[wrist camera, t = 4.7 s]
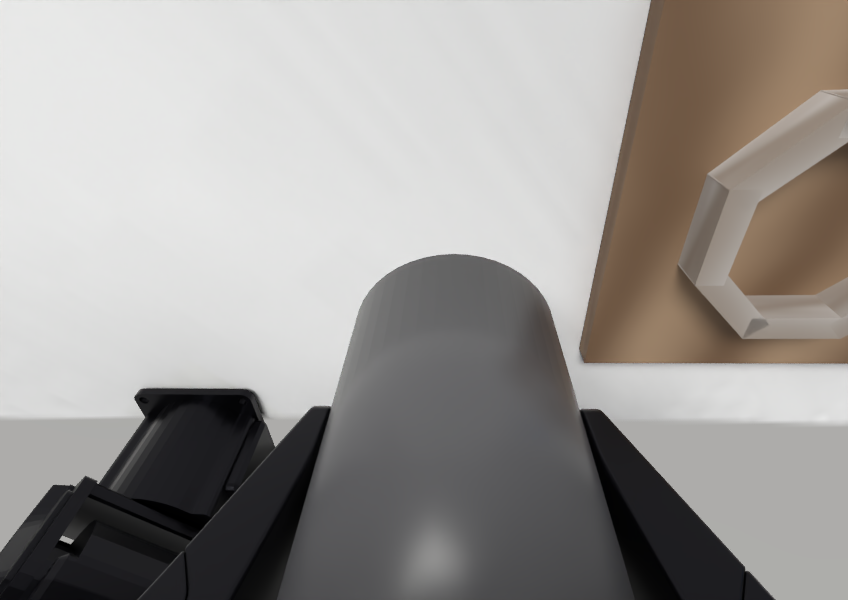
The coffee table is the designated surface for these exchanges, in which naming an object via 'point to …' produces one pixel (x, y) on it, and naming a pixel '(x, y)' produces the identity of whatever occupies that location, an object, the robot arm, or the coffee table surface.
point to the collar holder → (730, 191)
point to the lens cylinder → (455, 453)
